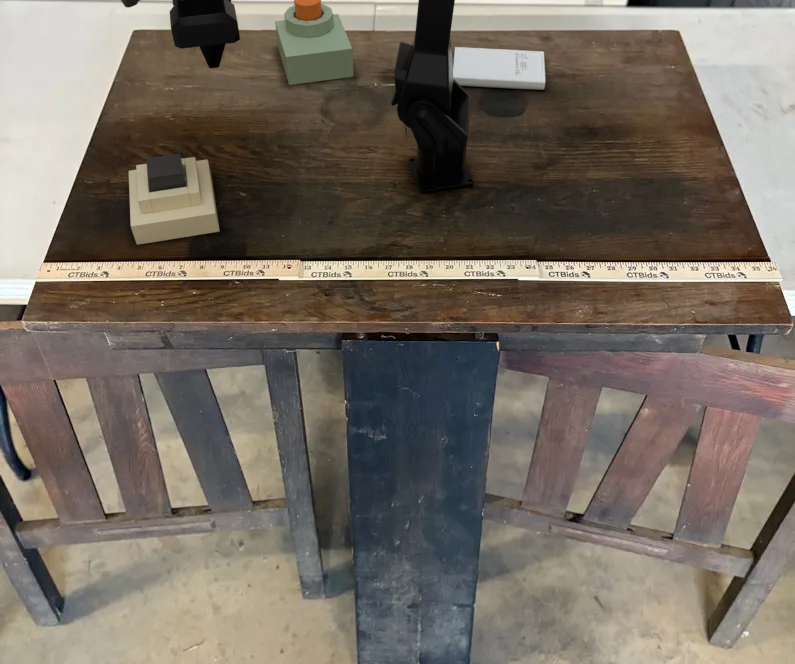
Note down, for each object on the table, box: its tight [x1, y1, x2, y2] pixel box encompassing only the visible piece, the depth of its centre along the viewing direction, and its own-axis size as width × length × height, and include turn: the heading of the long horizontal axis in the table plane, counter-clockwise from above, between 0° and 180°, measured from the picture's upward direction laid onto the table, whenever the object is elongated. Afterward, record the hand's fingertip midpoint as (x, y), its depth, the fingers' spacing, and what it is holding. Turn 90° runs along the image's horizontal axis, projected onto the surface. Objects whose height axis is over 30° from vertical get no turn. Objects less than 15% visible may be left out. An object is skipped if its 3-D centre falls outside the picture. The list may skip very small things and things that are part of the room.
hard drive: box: [453, 46, 546, 91], centre depth 110 cm, size 2×8×12 cm
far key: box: [293, 0, 322, 21], centre depth 109 cm, size 4×4×2 cm
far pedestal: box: [274, 3, 355, 86], centre depth 110 cm, size 11×9×6 cm
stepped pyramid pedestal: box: [128, 156, 221, 246], centre depth 89 cm, size 10×9×4 cm
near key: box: [146, 153, 185, 192], centre depth 87 cm, size 4×4×2 cm
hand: (213, 66), depth 87 cm, fingers closed
